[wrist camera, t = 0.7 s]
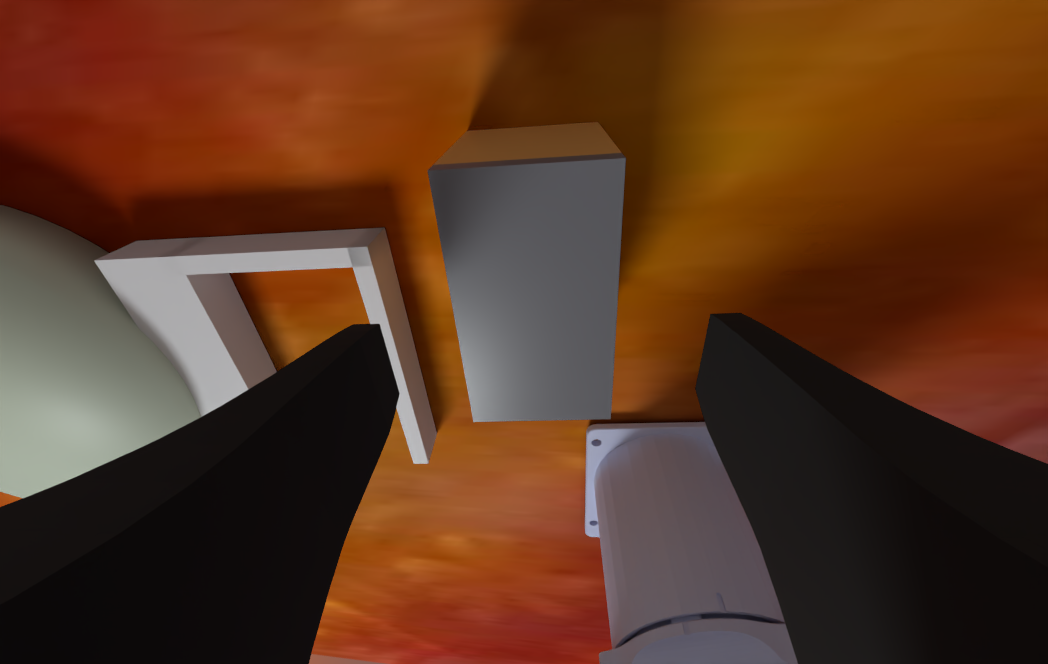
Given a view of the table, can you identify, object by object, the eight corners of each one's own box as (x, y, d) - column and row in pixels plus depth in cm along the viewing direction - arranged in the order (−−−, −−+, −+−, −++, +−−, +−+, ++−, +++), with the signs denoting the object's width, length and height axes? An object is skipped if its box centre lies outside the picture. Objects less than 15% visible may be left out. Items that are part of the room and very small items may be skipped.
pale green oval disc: (443, 461, 24) (432, 508, 22) (26, 467, 26) (-29, 511, 24) (369, 167, 16) (336, 190, 13) (-247, 207, 18) (-380, 233, 15)
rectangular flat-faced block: (592, 320, 19) (610, 418, 14) (492, 324, 19) (473, 421, 14) (597, 121, 15) (625, 158, 10) (467, 130, 15) (427, 170, 10)
